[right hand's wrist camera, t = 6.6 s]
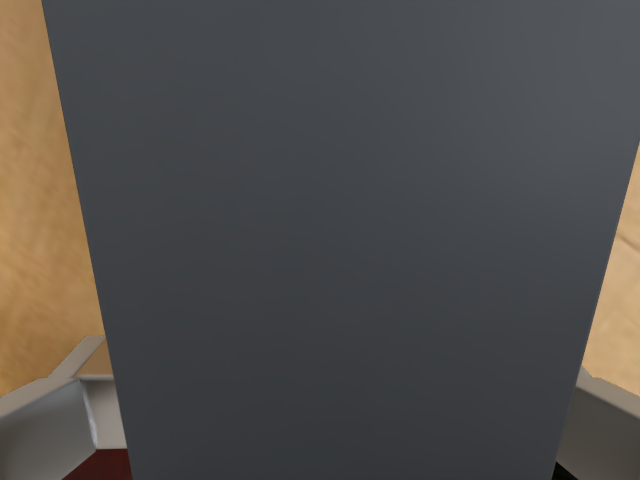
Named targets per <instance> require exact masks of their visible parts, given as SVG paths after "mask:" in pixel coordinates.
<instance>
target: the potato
mask: <svg viewBox="0 0 640 480" xmlns="http://www.w3.org/2000/svg"><path fill="white" fill-rule="evenodd" d="M95 450H96V452H94V453H93V454H92V455H91V456H89V457H88V458H87V459H86V460H85V461H83V462H82V463H81V464H80V465H79V466H77V467H76V468H75V469H74V470H72V471H71V472H70V473H69V474H68V475H66V476H65V477H64V478H63V479H62V480H133V477H132V471H131V466H130V461H129V456H128V451H127V448H120V449H95Z"/></svg>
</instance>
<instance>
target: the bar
mask: <svg viewBox="0 0 640 480" xmlns="http://www.w3.org/2000/svg"><path fill="white" fill-rule="evenodd" d="M41 1H42V6H43V11H44V16H45V22H46V27H47V32H48V37H49V42H50V48H51V53H52V58H53V63H54V69H55V74H56V79H57V84H58V90H59V95H60V100H61V105H62V111H63V116H64V121H65V126H66V131H67V137H68V142H69V147H70V152H71V158H72V163H73V168H74V173H75V179H76V184H77V189H78V194H79V199H80V205H81V210H82V215H83V220H84V226H85V231H86V236H87V241H88V247H89V252H90V257H91V262H92V267H93V273H94V278H95V283H96V288H97V294H98V299H99V304H100V309H101V315H102V320H103V325H104V330H105V335H106V341H107V346H108V351H109V356H110V362H111V367H112V372H113V377H114V383H115V388H116V393H117V398H118V403H119V409H120V414H121V419H122V424H123V430H124V435H125V440H126V445H127V451H128V456H129V461H130V466H131V471H132V477H133V480H551V478H552V474H553V470H554V467H555V463H556V459H557V455H558V451H559V448H560V444H561V440H562V436H563V432H564V428H565V425H566V421H567V417H568V413H569V409H570V406H571V402H572V398H573V394H574V390H575V386H576V383H577V379H578V375H579V371H580V367H581V363H582V360H583V356H584V352H585V348H586V344H587V341H588V337H589V333H590V329H591V325H592V321H593V318H594V314H595V310H596V306H597V302H598V299H599V295H600V291H601V287H602V283H603V279H604V276H605V272H606V268H607V264H608V260H609V256H610V253H611V249H612V245H613V241H614V237H615V234H616V230H617V226H618V222H619V218H620V214H621V211H622V207H623V203H624V199H625V195H626V192H627V188H628V184H629V180H630V176H631V172H632V169H633V165H634V161H635V157H636V153H637V149H638V146H639V142H640V0H41Z"/></svg>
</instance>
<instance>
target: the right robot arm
mask: <svg viewBox="0 0 640 480" xmlns="http://www.w3.org/2000/svg"><path fill="white" fill-rule="evenodd" d="M120 448H127V445H126V440H125V435H124V430H123V424H122V419H121V414H120V409H119V403H118V398H117V393H116V388H115V383H114V377H113V372H112V367H111V362H110V356H109V351H108V346H107V341H106V335H90V336H86V337H84V338H83V339H82V340H81V342H80V343H79V344H78V345H77V346H76V347H75V348H74V349H73V350H72V351H71V352H70V353H69V355H68V356H67V357H66V358H65V359H64V360H63V361H62V362H61V363H60V364H59V365H58V366H57V368H56V369H55V370H54V371H53V372H52V373H51V374H50V375H49V376H48V377H47V378H38V379H36V380H34V381H32V382H30V383H28V384H26V385H24V386H22V387H20V388H17V389H15V390H13V391H11V392H9V393H7V394H5V395H3V396H1V397H0V480H62V479H63V478H64V477H65V476H66V475H68V474H69V473H70V472H71V471H72V470H74V469H75V468H76V467H77V466H79V465H80V464H81V463H82V462H83V461H85V460H86V459H87V458H88V457H89V456H91V455H92V454H93V453H94V452H96V450H95V449H120ZM556 461H557V462H558V463H559V464H561V465H562V466H563V467H564V468H565V469H567V470H568V471H569V472H570V473H571V474H573V475H574V476H575V477H576V478H577V479H579V480H640V397H639V396H637V395H635V394H633V393H631V392H629V391H627V390H625V389H623V388H620V387H618V386H616V385H614V384H612V383H610V382H608V381H606V380H604V379H602V378H593V377H592V376H591V375H590V374H589V373H588V372H587V371H586V370H585V369H584V367H583V366H582V365H581V367H580V371H579V375H578V379H577V383H576V386H575V390H574V394H573V398H572V402H571V406H570V409H569V413H568V417H567V421H566V425H565V428H564V432H563V436H562V440H561V444H560V448H559V451H558V455H557V459H556Z"/></svg>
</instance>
